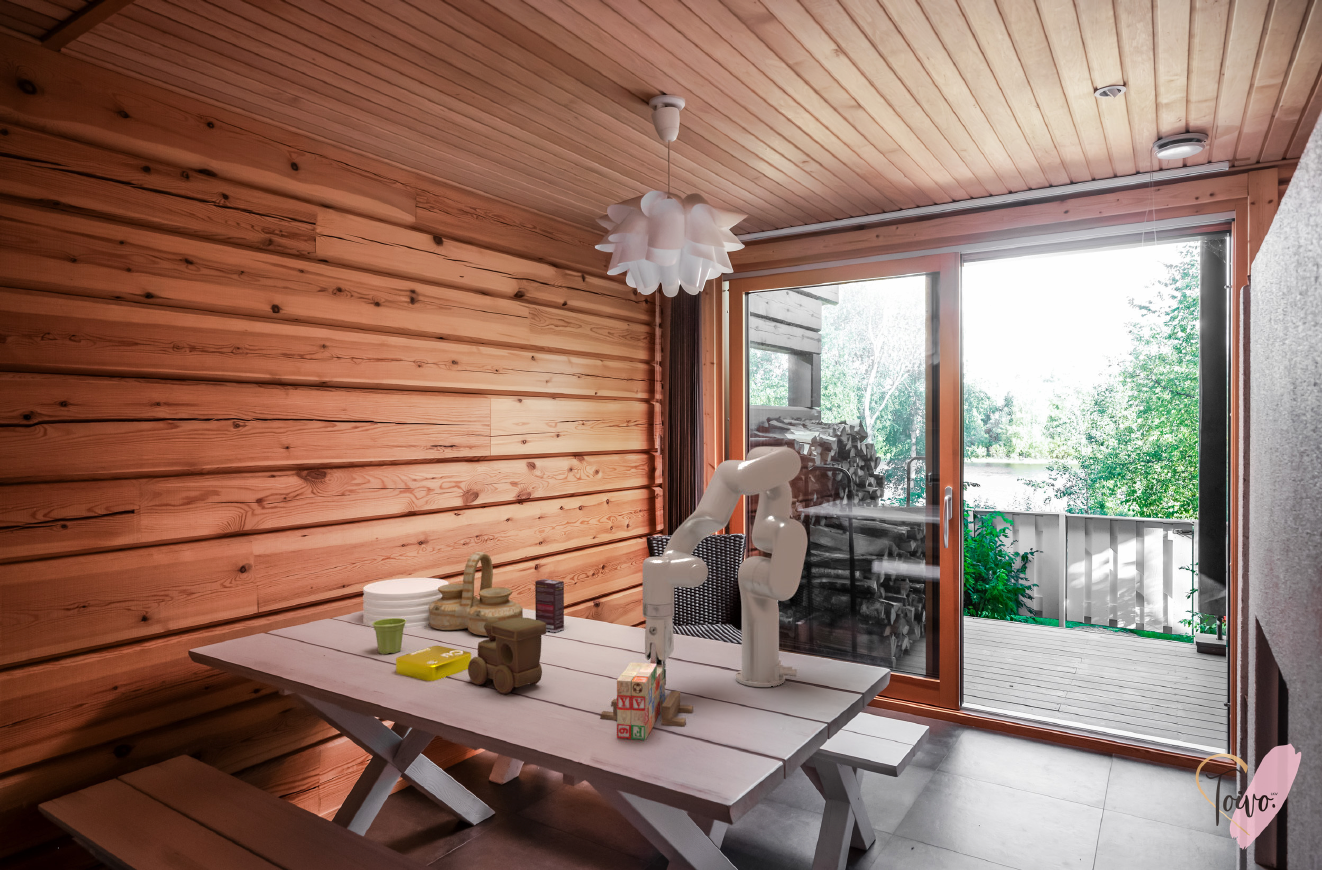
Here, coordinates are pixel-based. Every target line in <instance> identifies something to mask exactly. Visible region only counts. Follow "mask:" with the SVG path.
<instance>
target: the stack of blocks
mask: <svg viewBox="0 0 1322 870" xmlns="http://www.w3.org/2000/svg"><path fill="white" fill-rule="evenodd" d="M664 669H665V668H664V665H657V664H650V663H647V662H646V663H645V662H630V663H629V664H628V665H627V667H626V668H625V670H624V671H623V672H622V673H621V675H620V676H619V677H618V678H617V679H616V698H617V720H616V738H617V739H624V738H628V739H627V740H637V739H640V740H639V741H641V739H642V741H646V740H647V738H648V736H649V735H650V734H651V731H652V729H653V728H654V726H655V725H656V724H655V723H656V721H657V719H658V717H659V716H660V714H661V706H662V704H663V703H664V701H665V700H666V685H665V678H664Z"/></svg>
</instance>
